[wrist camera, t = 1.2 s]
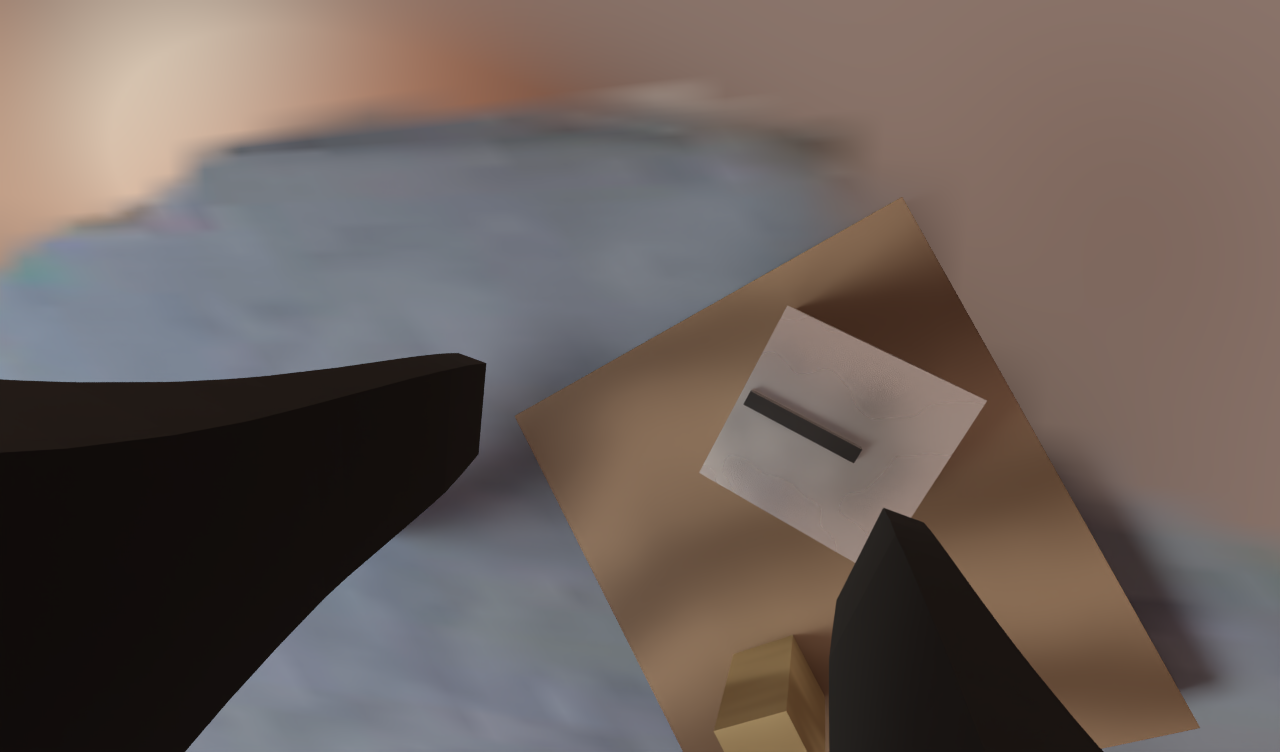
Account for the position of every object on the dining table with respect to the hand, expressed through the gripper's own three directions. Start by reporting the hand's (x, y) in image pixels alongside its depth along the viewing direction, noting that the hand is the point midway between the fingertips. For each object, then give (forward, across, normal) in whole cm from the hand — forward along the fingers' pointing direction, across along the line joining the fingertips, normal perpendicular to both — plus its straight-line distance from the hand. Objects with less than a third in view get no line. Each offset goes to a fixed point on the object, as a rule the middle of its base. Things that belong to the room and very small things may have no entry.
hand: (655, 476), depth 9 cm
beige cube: (+10, -3, +2) cm, 11 cm away
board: (+10, -4, +7) cm, 13 cm away
